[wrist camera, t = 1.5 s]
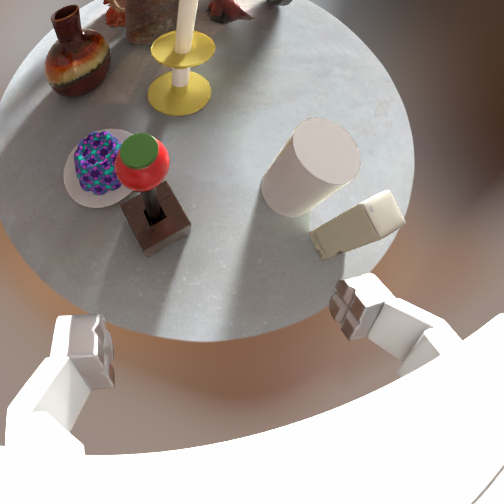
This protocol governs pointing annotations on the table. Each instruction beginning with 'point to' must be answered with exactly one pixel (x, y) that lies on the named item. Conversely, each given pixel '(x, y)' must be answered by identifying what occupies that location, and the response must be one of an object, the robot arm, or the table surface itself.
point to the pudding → (95, 169)
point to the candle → (181, 66)
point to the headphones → (279, 2)
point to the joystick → (143, 169)
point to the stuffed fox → (226, 11)
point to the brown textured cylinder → (149, 19)
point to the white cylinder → (310, 167)
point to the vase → (75, 55)
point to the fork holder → (163, 231)
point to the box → (358, 226)
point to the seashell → (115, 12)
